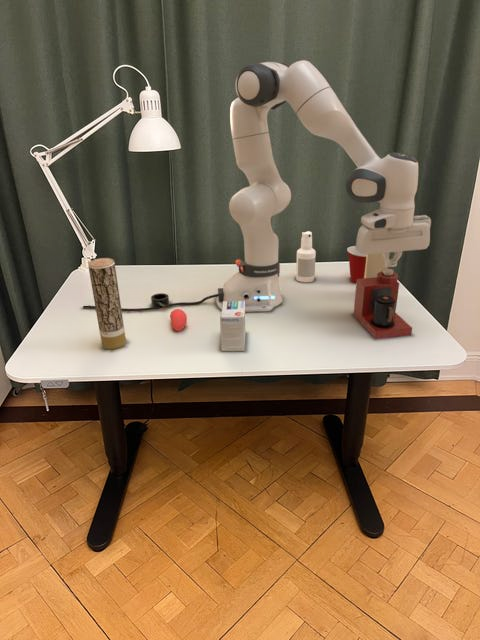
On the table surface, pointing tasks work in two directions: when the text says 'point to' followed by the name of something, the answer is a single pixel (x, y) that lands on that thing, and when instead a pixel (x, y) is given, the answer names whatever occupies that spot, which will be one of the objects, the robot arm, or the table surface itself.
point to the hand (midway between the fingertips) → (390, 266)
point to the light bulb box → (232, 326)
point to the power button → (388, 272)
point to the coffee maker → (365, 292)
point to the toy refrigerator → (374, 265)
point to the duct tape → (160, 300)
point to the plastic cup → (356, 264)
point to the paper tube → (107, 302)
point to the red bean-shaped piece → (178, 319)
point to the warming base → (394, 330)
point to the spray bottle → (305, 259)
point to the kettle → (384, 311)
